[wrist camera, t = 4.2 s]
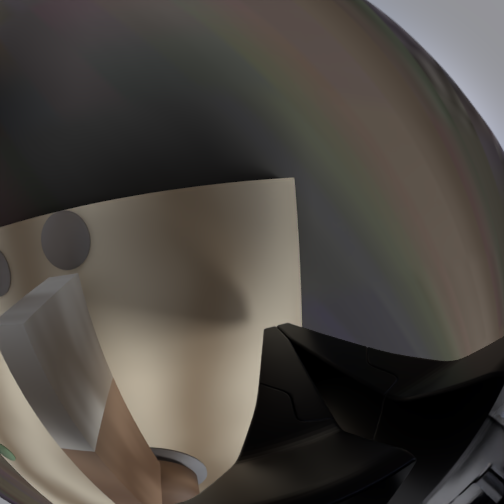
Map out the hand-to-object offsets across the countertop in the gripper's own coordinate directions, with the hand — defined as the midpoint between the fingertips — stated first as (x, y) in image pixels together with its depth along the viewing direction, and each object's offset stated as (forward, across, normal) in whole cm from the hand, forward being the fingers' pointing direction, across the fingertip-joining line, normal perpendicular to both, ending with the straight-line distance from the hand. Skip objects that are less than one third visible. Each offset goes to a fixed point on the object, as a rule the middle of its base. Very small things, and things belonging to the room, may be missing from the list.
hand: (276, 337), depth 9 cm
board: (+2, +10, +6) cm, 12 cm away
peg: (+1, +7, +4) cm, 8 cm away
